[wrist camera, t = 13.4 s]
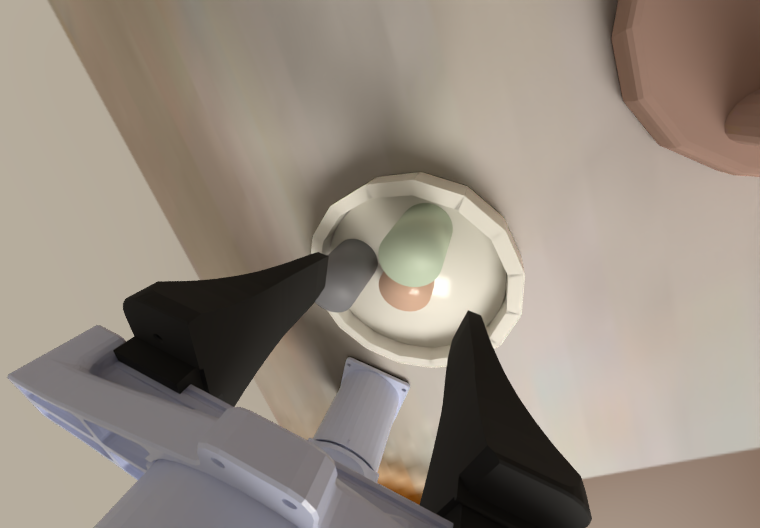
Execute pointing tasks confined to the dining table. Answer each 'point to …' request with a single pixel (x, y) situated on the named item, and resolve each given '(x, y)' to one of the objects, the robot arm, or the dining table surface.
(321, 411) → the dining table surface
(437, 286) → the groove tray
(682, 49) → the hourglass
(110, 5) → the dining table surface
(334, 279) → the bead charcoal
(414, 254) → the pale green rounded block
